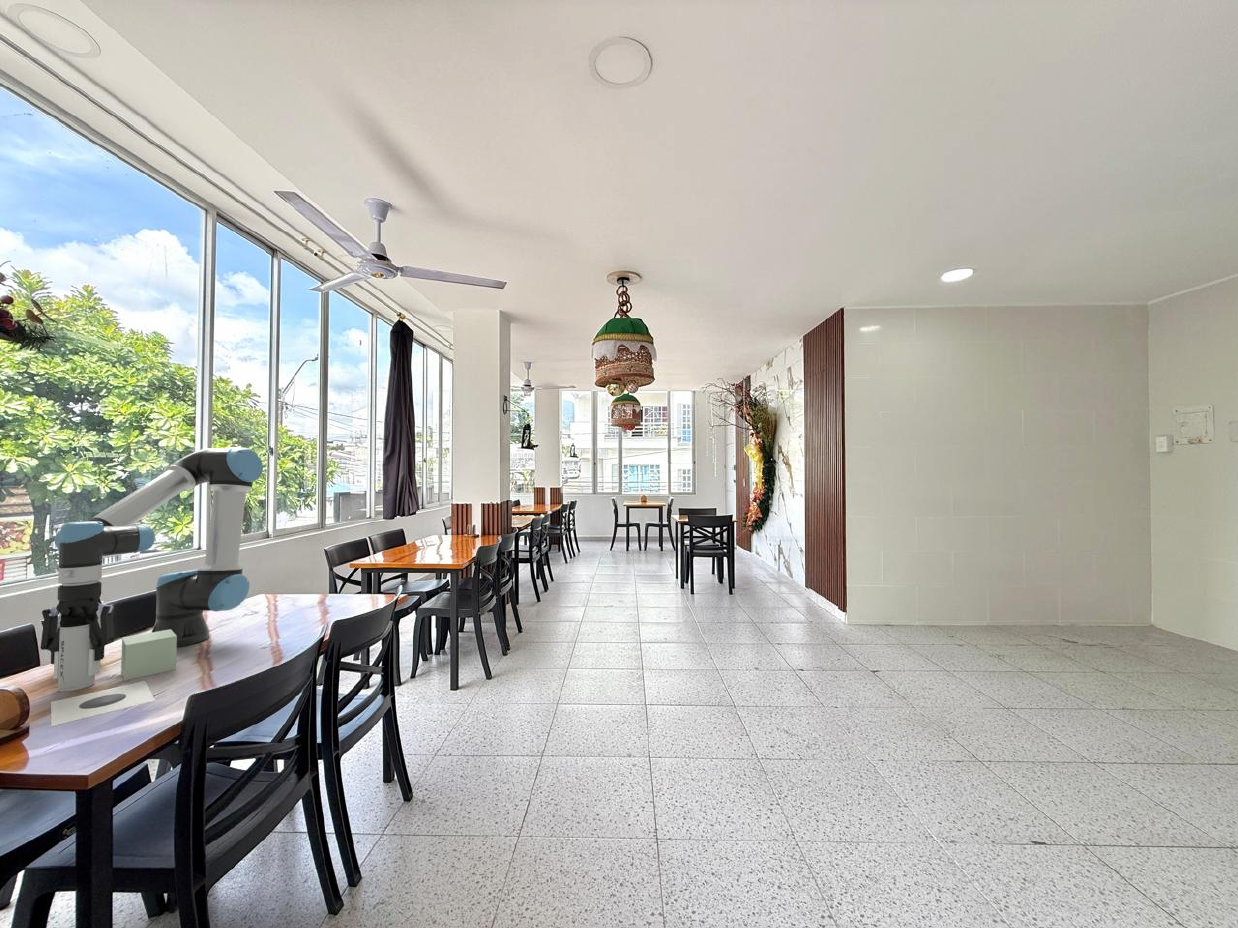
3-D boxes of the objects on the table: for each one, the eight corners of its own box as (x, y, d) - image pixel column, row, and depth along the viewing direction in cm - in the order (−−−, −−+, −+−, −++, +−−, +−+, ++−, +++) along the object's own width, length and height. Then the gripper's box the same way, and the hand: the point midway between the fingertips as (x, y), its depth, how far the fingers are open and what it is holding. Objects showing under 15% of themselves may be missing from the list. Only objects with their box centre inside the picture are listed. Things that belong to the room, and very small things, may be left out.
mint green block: (120, 674, 135) (122, 637, 135) (169, 664, 142) (170, 629, 143) (124, 683, 128) (125, 645, 129) (175, 672, 136) (176, 635, 136)
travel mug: (95, 683, 129) (97, 606, 130) (93, 690, 124) (96, 610, 125) (59, 690, 124) (61, 610, 125) (56, 698, 120) (58, 615, 120)
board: (50, 706, 116) (51, 701, 116) (145, 684, 128) (145, 680, 128) (51, 730, 104) (51, 725, 104) (154, 704, 116) (155, 699, 116)
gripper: (18, 588, 119) (15, 685, 118) (115, 583, 124) (112, 676, 123) (46, 582, 127) (42, 673, 126) (136, 577, 131) (133, 665, 130)
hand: (77, 674), depth 124 cm, fingers closed on travel mug, 6 cm apart
